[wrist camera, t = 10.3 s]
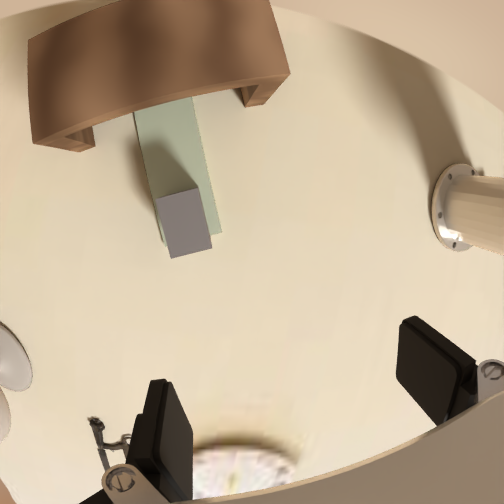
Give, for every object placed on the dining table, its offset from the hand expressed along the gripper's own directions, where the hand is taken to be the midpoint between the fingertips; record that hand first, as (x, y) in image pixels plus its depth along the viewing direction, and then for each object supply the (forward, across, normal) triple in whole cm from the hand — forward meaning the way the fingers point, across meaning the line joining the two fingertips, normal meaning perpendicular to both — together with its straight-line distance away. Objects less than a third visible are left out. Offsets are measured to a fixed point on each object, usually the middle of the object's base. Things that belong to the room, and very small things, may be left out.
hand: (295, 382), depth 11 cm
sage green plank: (+22, +5, -14) cm, 26 cm away
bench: (+22, +5, -19) cm, 30 cm away
